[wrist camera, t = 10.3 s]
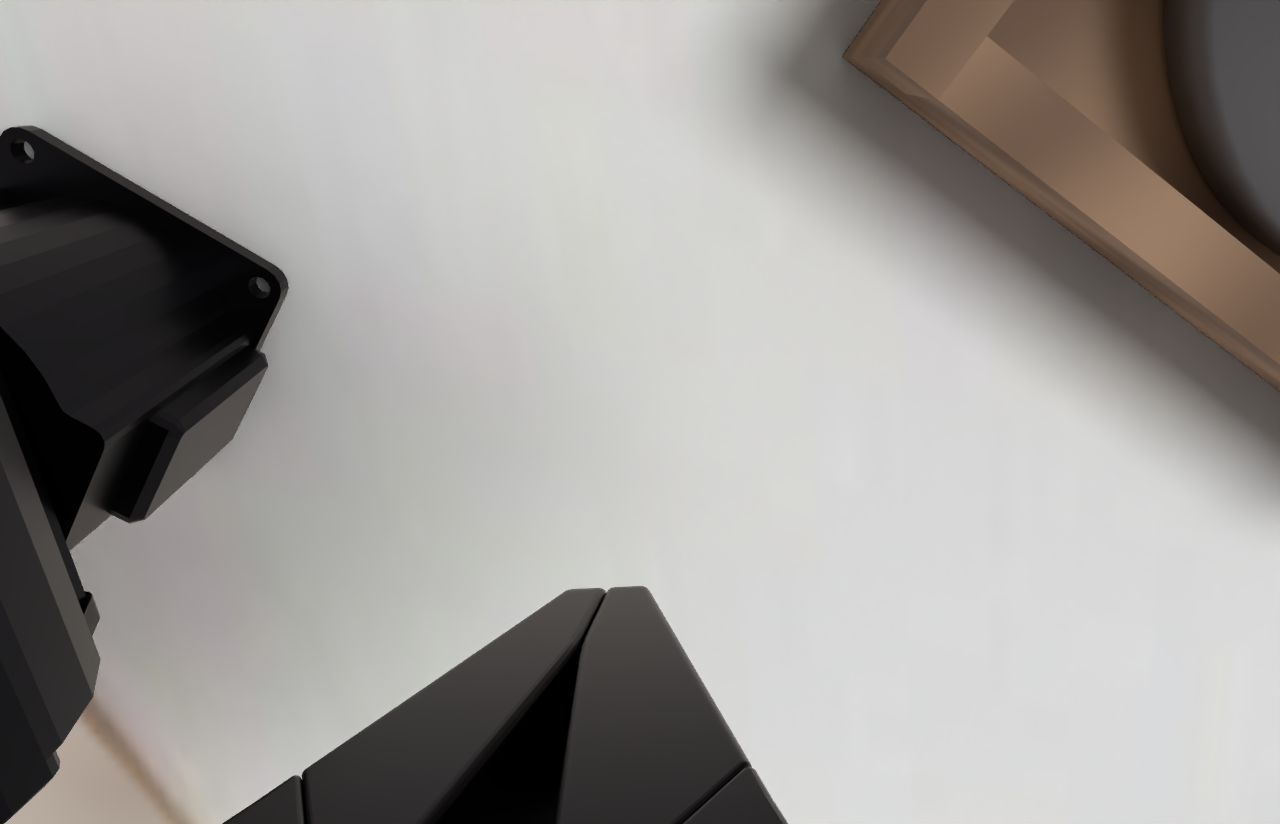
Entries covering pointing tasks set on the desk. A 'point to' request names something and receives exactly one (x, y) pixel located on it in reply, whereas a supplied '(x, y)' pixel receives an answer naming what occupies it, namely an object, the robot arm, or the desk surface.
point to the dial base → (1085, 143)
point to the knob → (1230, 102)
